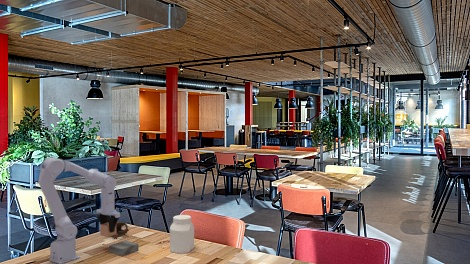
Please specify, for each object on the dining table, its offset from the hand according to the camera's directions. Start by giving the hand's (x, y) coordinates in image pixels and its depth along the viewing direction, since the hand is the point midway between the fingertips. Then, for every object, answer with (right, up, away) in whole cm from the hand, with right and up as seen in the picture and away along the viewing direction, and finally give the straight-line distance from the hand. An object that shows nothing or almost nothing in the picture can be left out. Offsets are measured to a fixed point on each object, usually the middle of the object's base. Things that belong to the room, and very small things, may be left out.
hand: (108, 231), depth 170 cm
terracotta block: (0, -2, 0) cm, 2 cm away
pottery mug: (-2, -8, +20) cm, 22 cm away
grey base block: (+8, -9, -3) cm, 12 cm away
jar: (+34, -9, +1) cm, 35 cm away
